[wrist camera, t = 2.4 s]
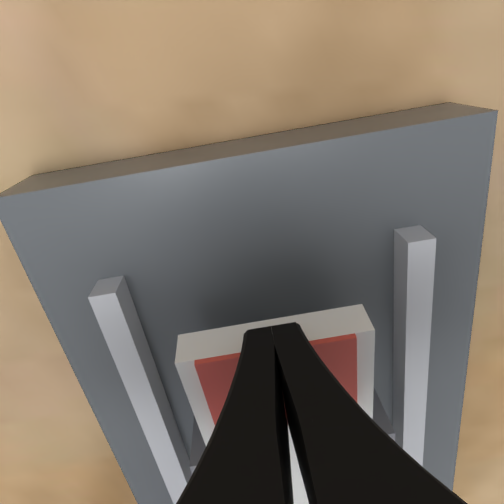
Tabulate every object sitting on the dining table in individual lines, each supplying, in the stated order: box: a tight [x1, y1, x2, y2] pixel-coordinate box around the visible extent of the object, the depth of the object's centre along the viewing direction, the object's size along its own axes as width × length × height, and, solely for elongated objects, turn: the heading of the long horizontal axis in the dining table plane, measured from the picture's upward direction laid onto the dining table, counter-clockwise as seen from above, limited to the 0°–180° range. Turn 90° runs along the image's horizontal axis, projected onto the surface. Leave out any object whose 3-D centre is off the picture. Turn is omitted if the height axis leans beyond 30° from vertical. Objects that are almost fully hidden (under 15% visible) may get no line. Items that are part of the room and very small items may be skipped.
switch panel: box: [0, 102, 498, 504], centre depth 15 cm, size 20×14×5 cm
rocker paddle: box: [175, 304, 375, 504], centre depth 13 cm, size 12×5×1 cm, turn 9°
